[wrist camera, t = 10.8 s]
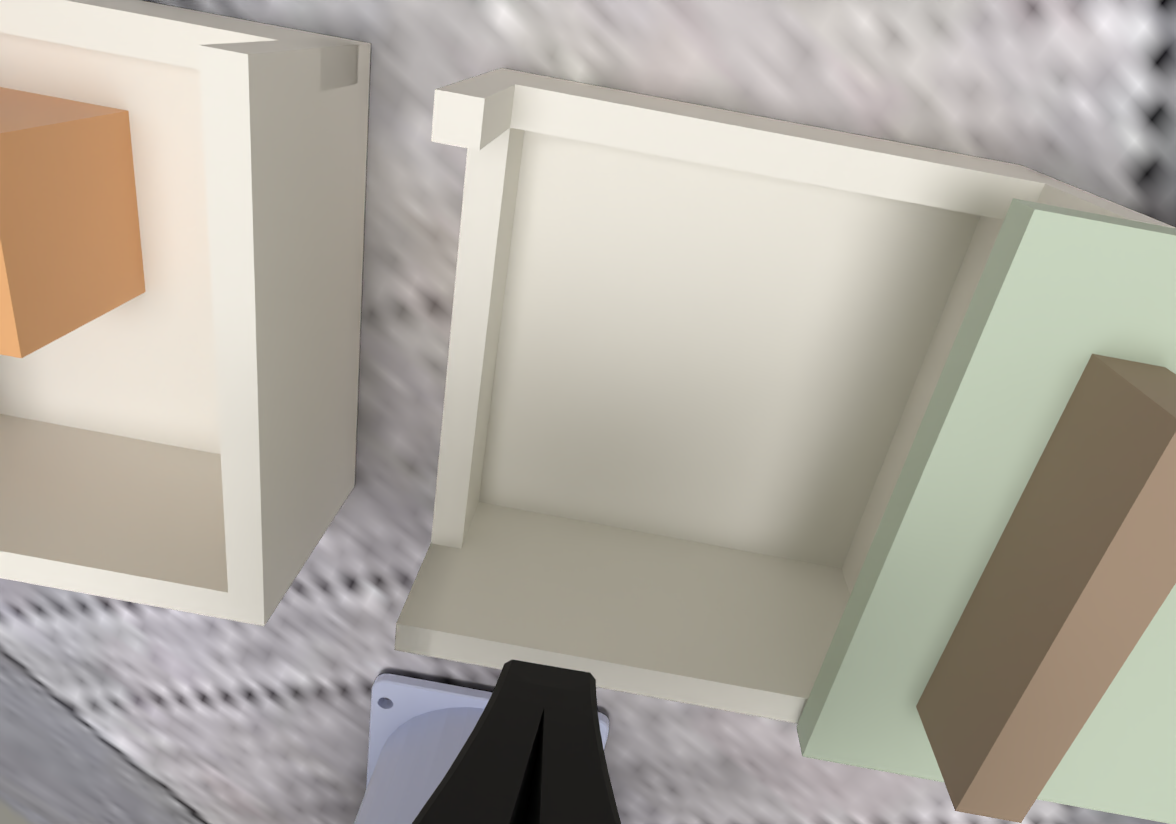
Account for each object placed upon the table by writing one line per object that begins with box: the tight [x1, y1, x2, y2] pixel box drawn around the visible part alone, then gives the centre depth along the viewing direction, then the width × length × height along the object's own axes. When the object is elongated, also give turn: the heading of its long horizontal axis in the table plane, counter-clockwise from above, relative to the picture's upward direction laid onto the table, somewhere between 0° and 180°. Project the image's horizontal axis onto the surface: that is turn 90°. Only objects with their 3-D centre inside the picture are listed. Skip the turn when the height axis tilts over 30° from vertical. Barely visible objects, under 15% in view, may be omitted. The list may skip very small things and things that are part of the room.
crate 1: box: [0, 0, 371, 626], centre depth 18 cm, size 12×12×6 cm
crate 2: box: [395, 68, 1176, 724], centre depth 18 cm, size 12×12×6 cm
